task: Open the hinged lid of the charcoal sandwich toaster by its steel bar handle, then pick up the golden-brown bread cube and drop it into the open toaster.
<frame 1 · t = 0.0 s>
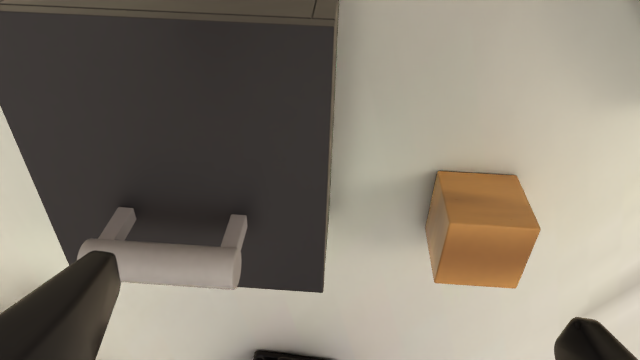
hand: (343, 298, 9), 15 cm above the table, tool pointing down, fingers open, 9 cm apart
toaster lid: (163, 200, 18), point 7 cm above the table, hinge at 0.0°
bread cube: (468, 202, 26), on the table
toaster: (209, 108, 24), on the table
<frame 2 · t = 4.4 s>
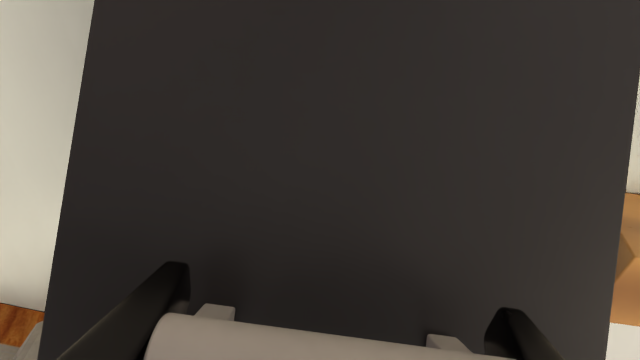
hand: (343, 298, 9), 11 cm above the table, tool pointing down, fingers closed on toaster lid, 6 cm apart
mug: (44, 335, 33), on the table
toaster lid: (348, 249, 9), point 11 cm above the table, hinge at 41.6°, touching gripper
bread cube: (614, 225, 23), on the table
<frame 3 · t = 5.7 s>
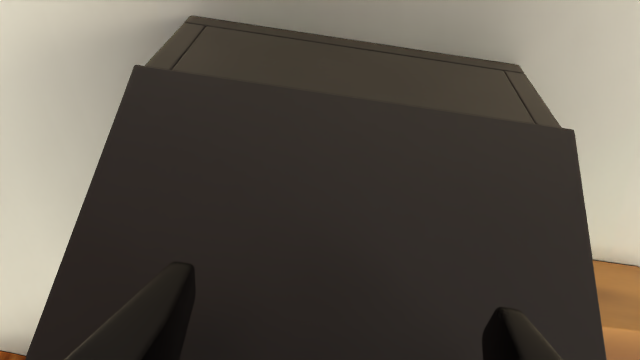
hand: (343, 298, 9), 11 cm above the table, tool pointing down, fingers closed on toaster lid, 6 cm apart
toaster lid: (339, 330, 9), point 12 cm above the table, hinge at 62.8°, touching gripper
bread cube: (580, 287, 25), on the table
toaster: (332, 173, 21), on the table
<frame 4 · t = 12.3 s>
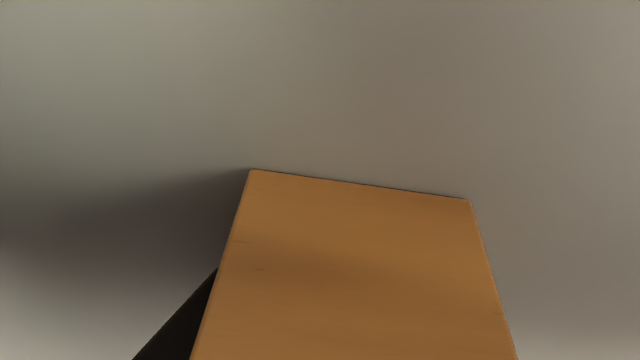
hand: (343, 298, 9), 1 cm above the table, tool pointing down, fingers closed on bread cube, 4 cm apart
bread cube: (343, 259, 10), on the table, touching gripper
when the fingers open (13 cm above the table, at t = 26.3 s): bread cube drops 11 cm, resting on toaster.
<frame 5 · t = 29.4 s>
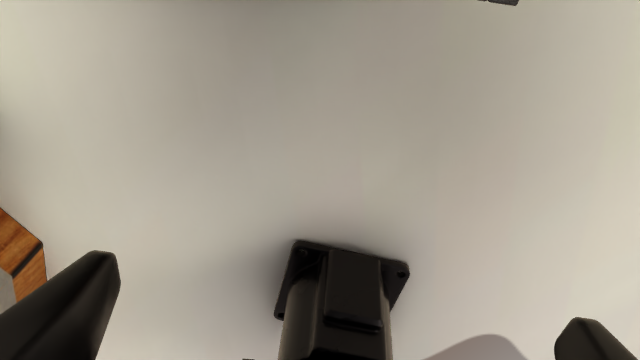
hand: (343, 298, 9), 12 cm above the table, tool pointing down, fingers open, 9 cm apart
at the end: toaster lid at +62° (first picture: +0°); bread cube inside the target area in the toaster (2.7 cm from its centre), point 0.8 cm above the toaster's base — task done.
